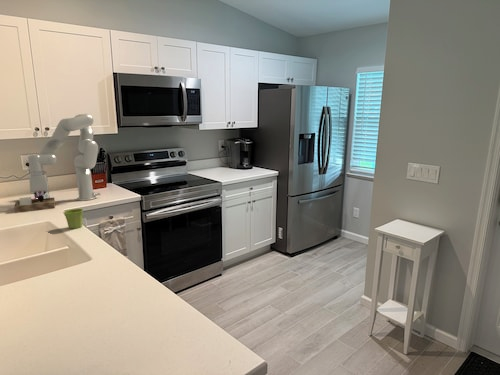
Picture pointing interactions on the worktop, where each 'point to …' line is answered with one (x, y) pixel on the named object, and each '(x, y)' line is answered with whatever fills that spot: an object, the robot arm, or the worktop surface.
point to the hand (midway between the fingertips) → (41, 201)
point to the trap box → (35, 205)
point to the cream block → (25, 201)
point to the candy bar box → (43, 195)
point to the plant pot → (74, 218)
